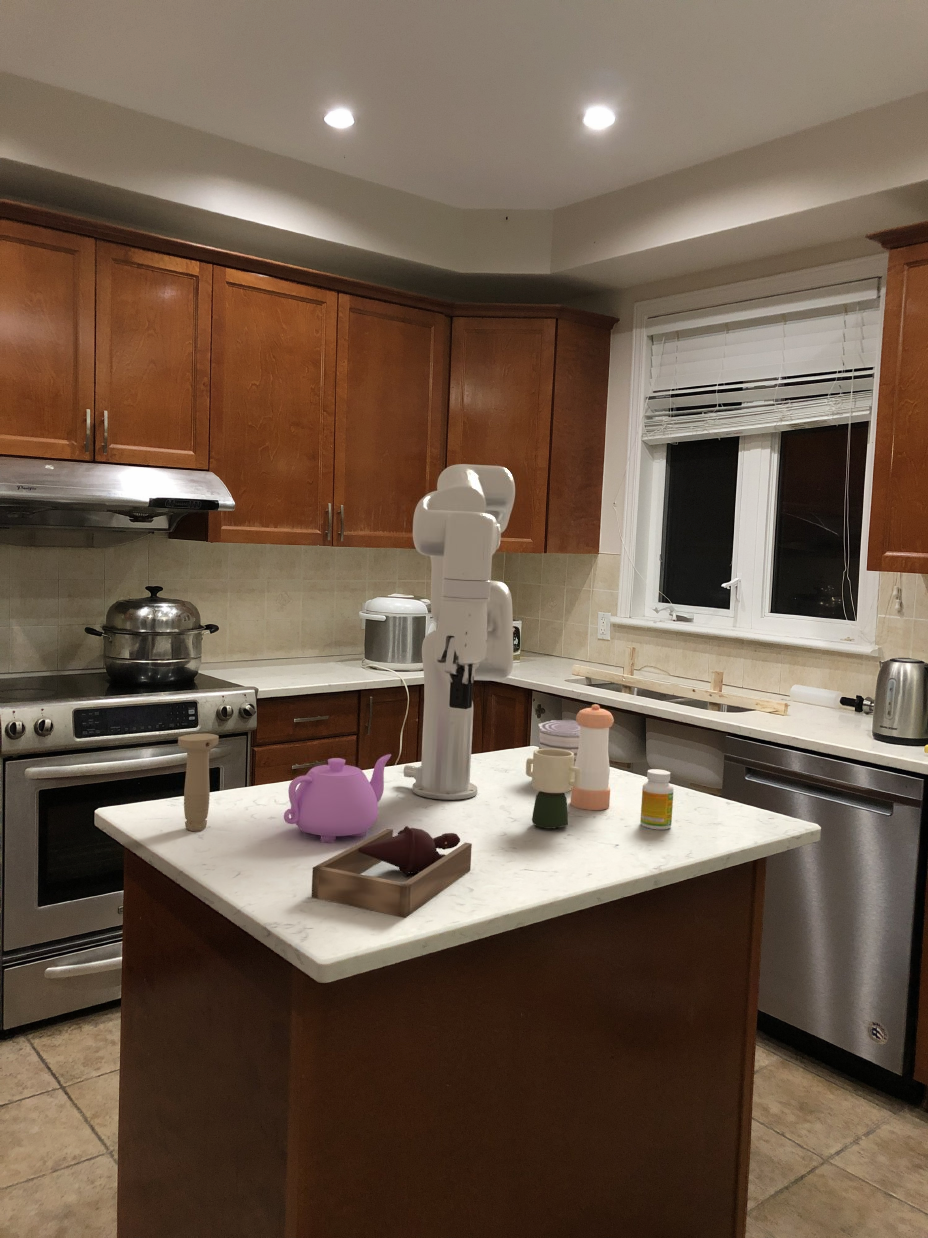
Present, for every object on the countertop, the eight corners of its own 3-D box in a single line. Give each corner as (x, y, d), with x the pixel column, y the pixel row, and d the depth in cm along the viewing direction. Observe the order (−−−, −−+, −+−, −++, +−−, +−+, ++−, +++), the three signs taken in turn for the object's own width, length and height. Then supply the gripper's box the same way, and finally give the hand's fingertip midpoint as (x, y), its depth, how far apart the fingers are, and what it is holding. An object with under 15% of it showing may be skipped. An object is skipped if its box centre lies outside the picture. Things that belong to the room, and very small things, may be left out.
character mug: (587, 829, 165) (592, 755, 164) (565, 838, 159) (570, 761, 158) (534, 816, 171) (538, 744, 170) (512, 824, 166) (515, 750, 165)
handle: (169, 829, 153) (172, 737, 152) (203, 822, 158) (206, 732, 157) (187, 836, 150) (190, 742, 149) (221, 828, 155) (224, 737, 154)
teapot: (365, 813, 168) (368, 745, 167) (413, 834, 157) (416, 761, 156) (262, 830, 155) (265, 756, 155) (307, 854, 145) (310, 774, 144)
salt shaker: (609, 802, 184) (615, 703, 182) (608, 812, 177) (614, 709, 175) (571, 798, 185) (577, 700, 184) (569, 808, 178) (575, 706, 176)
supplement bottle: (671, 831, 166) (674, 776, 165) (639, 828, 167) (643, 773, 166) (671, 823, 171) (674, 769, 170) (640, 820, 172) (643, 767, 171)
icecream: (368, 842, 131) (470, 844, 136) (357, 814, 138) (454, 818, 143) (359, 886, 133) (459, 886, 138) (348, 856, 140) (444, 858, 145)
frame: (311, 897, 127) (312, 867, 127) (386, 854, 146) (387, 828, 146) (405, 917, 121) (407, 887, 121) (470, 870, 141) (471, 843, 140)
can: (600, 782, 199) (604, 725, 199) (572, 791, 191) (575, 732, 190) (554, 772, 206) (557, 717, 206) (524, 781, 198) (528, 723, 197)
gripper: (463, 588, 157) (458, 698, 159) (423, 591, 144) (417, 711, 145) (505, 591, 154) (500, 704, 156) (469, 594, 141) (463, 717, 142)
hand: (460, 707), depth 151 cm, fingers closed
